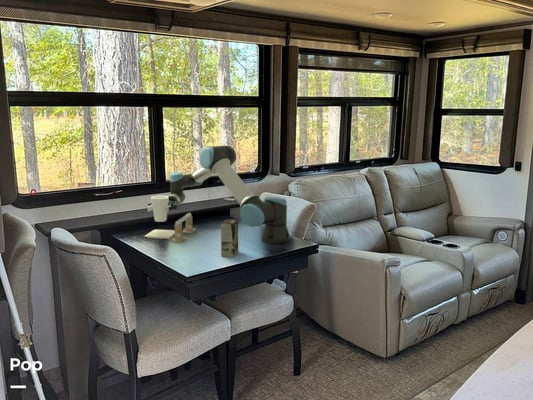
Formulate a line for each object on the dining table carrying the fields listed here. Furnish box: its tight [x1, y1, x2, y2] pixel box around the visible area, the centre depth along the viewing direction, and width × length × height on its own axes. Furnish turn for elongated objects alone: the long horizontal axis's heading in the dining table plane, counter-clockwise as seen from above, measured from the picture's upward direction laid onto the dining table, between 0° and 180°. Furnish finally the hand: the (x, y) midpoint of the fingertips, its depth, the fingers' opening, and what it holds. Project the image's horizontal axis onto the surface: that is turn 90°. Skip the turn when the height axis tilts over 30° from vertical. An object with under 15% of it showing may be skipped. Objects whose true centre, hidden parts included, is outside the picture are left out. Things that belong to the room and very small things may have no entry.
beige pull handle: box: [171, 215, 196, 243], centre depth 250 cm, size 23×6×9 cm, turn 172°
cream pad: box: [144, 229, 175, 240], centre depth 253 cm, size 14×14×1 cm
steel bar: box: [174, 212, 192, 225], centre depth 249 cm, size 22×2×2 cm, turn 172°
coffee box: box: [220, 219, 239, 258], centre depth 218 cm, size 9×6×16 cm
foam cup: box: [150, 195, 169, 223], centre depth 251 cm, size 10×9×13 cm
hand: (157, 209), depth 246 cm, fingers closed on foam cup, 9 cm apart
